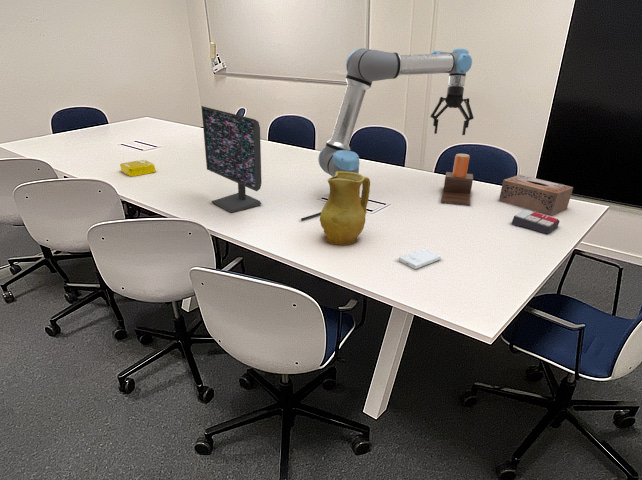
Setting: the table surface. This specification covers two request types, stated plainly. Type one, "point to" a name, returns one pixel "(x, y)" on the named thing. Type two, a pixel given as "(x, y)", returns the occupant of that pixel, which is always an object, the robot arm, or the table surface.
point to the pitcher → (345, 208)
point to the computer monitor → (233, 154)
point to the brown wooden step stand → (457, 189)
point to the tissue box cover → (535, 194)
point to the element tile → (137, 168)
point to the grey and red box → (535, 221)
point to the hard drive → (419, 258)
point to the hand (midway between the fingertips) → (449, 134)
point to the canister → (461, 165)
